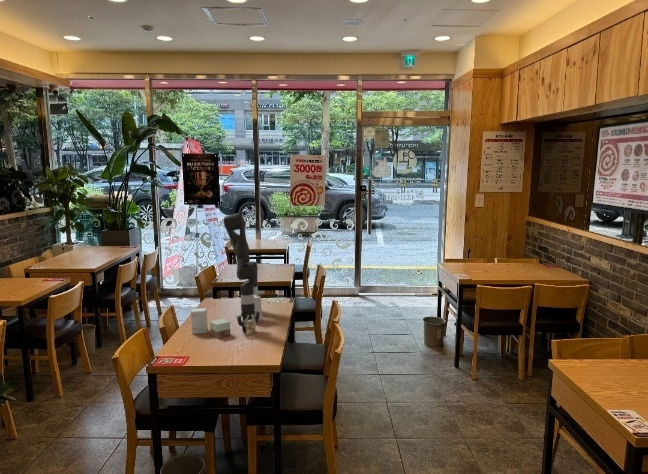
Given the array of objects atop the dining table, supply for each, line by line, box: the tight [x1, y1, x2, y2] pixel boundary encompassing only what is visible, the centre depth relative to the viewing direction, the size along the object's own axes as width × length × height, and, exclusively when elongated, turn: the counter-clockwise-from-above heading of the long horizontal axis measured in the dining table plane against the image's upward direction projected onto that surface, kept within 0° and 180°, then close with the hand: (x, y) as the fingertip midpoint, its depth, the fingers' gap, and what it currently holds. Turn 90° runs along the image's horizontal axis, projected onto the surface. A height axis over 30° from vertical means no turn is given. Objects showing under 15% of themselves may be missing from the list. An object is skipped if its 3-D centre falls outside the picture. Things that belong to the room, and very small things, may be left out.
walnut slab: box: [210, 328, 232, 339], centre depth 252 cm, size 8×8×4 cm
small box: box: [190, 307, 209, 335], centre depth 257 cm, size 8×6×13 cm
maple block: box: [242, 320, 256, 335], centre depth 255 cm, size 5×5×6 cm
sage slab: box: [209, 318, 231, 332], centre depth 252 cm, size 8×8×4 cm
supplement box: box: [247, 295, 263, 322], centre depth 277 cm, size 9×9×15 cm
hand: (248, 331), depth 255 cm, fingers closed on maple block, 5 cm apart
